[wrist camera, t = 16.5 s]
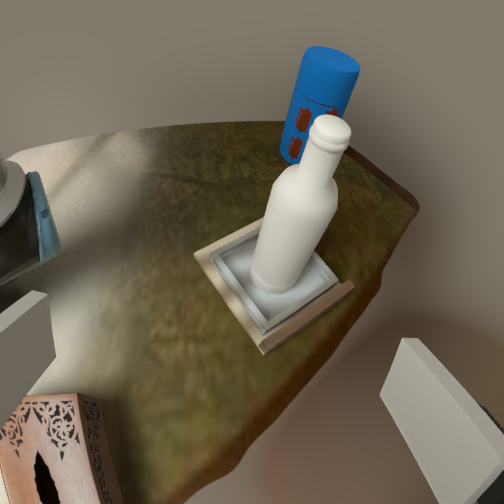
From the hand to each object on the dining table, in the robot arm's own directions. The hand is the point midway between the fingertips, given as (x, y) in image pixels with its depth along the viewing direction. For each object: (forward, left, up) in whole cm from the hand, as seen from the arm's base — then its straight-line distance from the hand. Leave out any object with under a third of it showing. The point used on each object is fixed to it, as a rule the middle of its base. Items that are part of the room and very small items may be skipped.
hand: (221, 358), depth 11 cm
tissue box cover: (+1, -25, -38) cm, 45 cm away
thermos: (-33, +45, -37) cm, 67 cm away
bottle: (-12, +20, -36) cm, 43 cm away
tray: (-12, +20, -37) cm, 44 cm away
